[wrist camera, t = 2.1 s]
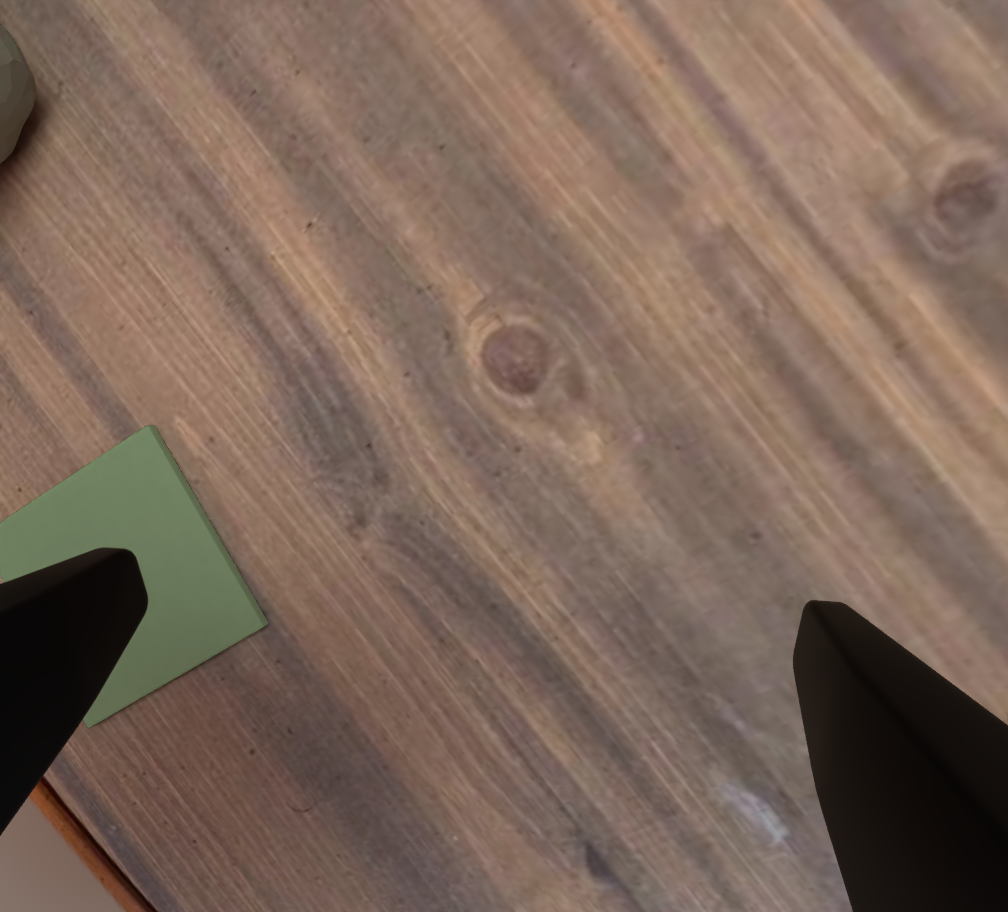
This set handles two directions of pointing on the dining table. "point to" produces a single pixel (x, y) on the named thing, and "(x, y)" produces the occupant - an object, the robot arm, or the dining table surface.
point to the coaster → (141, 562)
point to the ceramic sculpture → (13, 93)
